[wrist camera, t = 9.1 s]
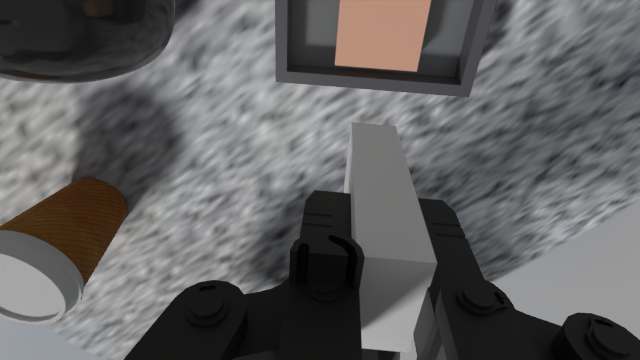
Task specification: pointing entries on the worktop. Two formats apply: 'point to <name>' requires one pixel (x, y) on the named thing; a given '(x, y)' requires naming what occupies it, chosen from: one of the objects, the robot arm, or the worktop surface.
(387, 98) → the worktop surface
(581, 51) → the worktop surface
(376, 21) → the key terracotta
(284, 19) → the grey compartment tray
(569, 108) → the worktop surface
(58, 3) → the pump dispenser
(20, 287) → the disposable coffee cup
